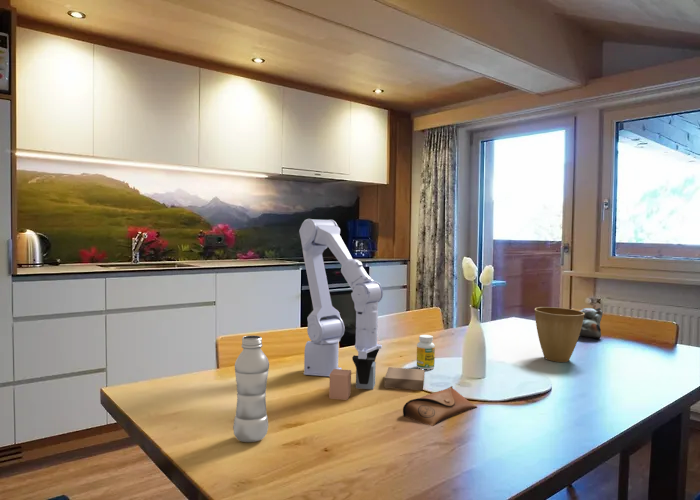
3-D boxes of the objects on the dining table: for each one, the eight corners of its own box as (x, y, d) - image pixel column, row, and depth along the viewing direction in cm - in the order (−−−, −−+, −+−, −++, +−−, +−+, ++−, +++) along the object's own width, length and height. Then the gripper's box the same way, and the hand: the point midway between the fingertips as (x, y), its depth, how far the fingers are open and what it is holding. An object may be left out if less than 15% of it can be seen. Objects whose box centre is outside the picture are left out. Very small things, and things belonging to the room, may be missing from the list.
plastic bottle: (235, 432, 97) (236, 333, 96) (269, 432, 97) (270, 333, 97) (230, 447, 90) (231, 341, 90) (267, 446, 91) (268, 341, 90)
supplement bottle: (425, 364, 149) (426, 333, 148) (438, 368, 144) (439, 336, 144) (412, 366, 146) (413, 335, 146) (424, 371, 141) (425, 338, 141)
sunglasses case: (433, 427, 101) (420, 395, 103) (410, 434, 106) (398, 404, 108) (479, 406, 114) (467, 379, 116) (457, 414, 118) (446, 387, 120)
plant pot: (532, 362, 153) (534, 312, 153) (533, 351, 167) (535, 305, 166) (584, 368, 148) (586, 316, 147) (581, 356, 161) (582, 309, 161)
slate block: (355, 388, 125) (356, 365, 125) (358, 382, 130) (358, 360, 130) (372, 389, 125) (373, 366, 124) (375, 384, 129) (375, 361, 129)
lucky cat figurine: (556, 334, 196) (563, 302, 201) (581, 345, 198) (587, 313, 203) (582, 330, 182) (589, 297, 187) (608, 342, 184) (614, 309, 189)
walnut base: (384, 389, 126) (384, 377, 126) (388, 377, 136) (388, 367, 136) (423, 391, 125) (423, 380, 124) (424, 380, 134) (424, 369, 134)
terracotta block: (329, 398, 118) (329, 374, 117) (333, 392, 122) (333, 368, 122) (347, 400, 117) (347, 375, 116) (350, 393, 121) (351, 370, 121)
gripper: (378, 334, 119) (377, 389, 119) (384, 323, 133) (384, 372, 134) (350, 333, 120) (349, 387, 121) (359, 322, 134) (359, 370, 135)
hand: (365, 379), depth 127 cm, fingers open, 7 cm apart
